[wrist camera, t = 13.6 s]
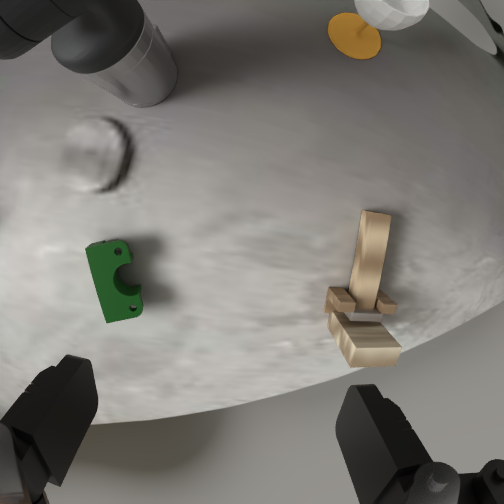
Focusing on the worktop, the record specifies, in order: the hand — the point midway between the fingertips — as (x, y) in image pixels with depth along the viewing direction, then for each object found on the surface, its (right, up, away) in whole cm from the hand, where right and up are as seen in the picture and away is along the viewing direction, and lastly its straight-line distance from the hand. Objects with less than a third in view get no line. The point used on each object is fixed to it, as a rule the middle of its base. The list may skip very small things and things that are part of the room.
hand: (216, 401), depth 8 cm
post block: (+17, -5, +39) cm, 43 cm away
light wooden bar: (+18, +4, +37) cm, 41 cm away
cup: (+17, +38, +29) cm, 51 cm away
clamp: (-19, +1, +36) cm, 41 cm away
